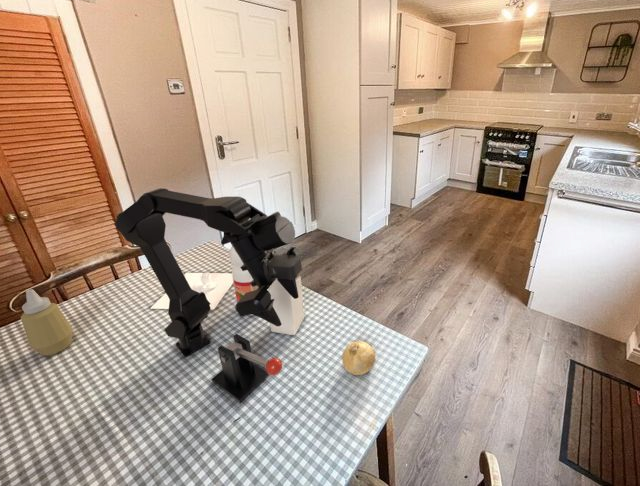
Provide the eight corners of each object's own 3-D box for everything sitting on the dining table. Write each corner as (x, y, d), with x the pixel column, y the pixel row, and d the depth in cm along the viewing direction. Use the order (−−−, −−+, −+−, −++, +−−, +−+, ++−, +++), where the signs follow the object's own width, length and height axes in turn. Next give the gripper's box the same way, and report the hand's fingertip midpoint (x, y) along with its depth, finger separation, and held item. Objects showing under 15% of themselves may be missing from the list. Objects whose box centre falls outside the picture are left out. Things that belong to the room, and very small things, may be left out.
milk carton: (294, 336, 84) (288, 277, 77) (271, 332, 85) (262, 274, 78) (304, 318, 90) (299, 263, 83) (282, 315, 92) (275, 260, 85)
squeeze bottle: (83, 341, 81) (59, 285, 75) (44, 364, 75) (13, 305, 68) (68, 332, 85) (43, 277, 78) (28, 353, 78) (-3, 295, 71)
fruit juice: (271, 311, 93) (260, 229, 83) (239, 319, 90) (223, 234, 79) (268, 293, 101) (257, 216, 91) (237, 300, 98) (223, 221, 87)
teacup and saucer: (212, 293, 101) (210, 283, 99) (188, 293, 101) (186, 283, 99) (224, 278, 109) (222, 268, 108) (202, 278, 109) (200, 268, 108)
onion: (354, 348, 80) (353, 327, 77) (380, 361, 76) (381, 340, 73) (336, 371, 73) (335, 349, 71) (364, 386, 70) (364, 363, 67)
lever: (287, 369, 62) (283, 356, 61) (275, 381, 59) (271, 368, 58) (239, 350, 70) (235, 338, 69) (227, 359, 68) (222, 347, 67)
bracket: (268, 376, 72) (263, 341, 68) (240, 404, 65) (232, 367, 61) (241, 358, 77) (234, 324, 73) (212, 382, 70) (203, 347, 66)
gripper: (262, 269, 53) (302, 335, 58) (302, 224, 70) (331, 278, 75) (215, 283, 57) (256, 345, 61) (264, 237, 74) (294, 288, 78)
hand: (288, 311), depth 69 cm, fingers open, 9 cm apart
